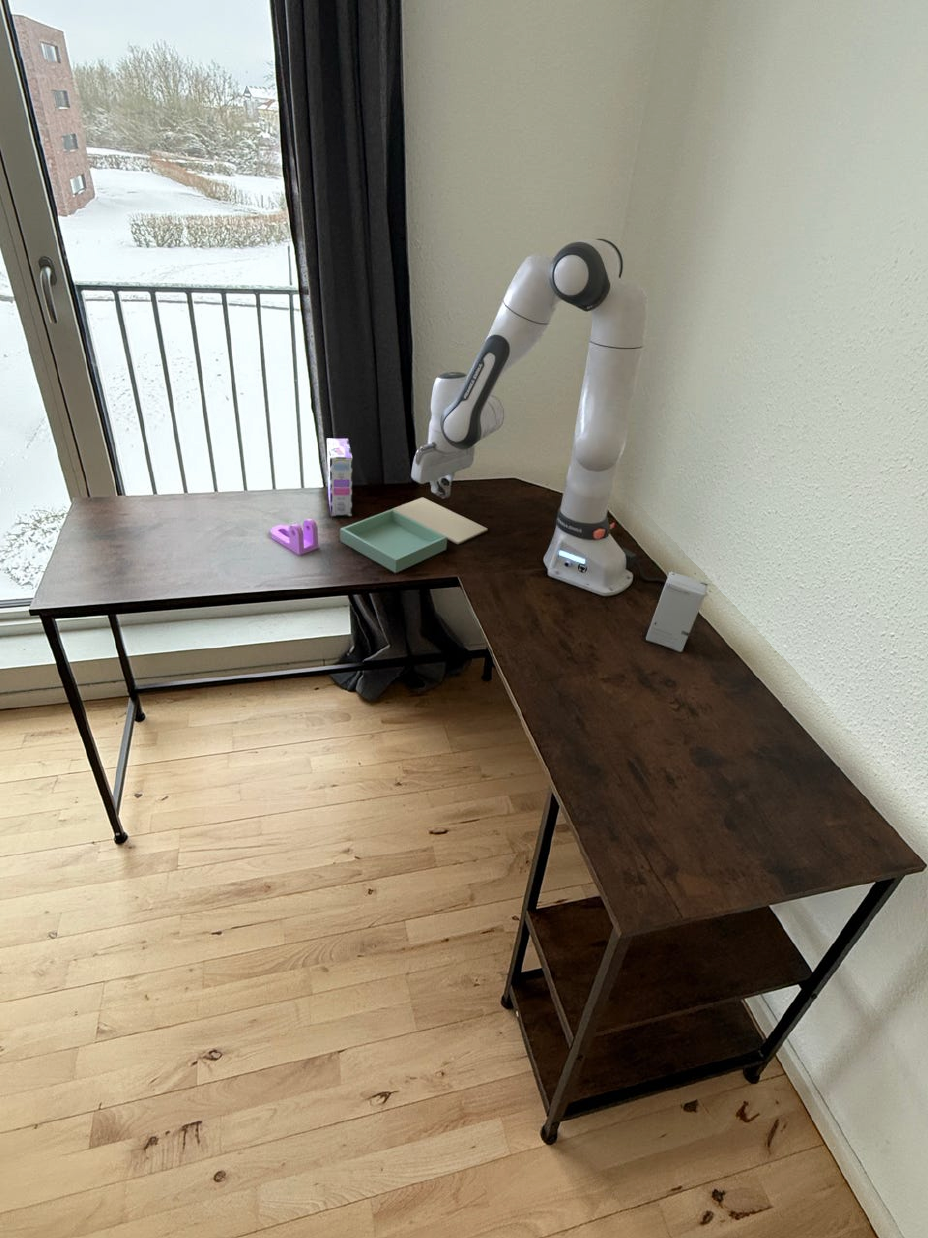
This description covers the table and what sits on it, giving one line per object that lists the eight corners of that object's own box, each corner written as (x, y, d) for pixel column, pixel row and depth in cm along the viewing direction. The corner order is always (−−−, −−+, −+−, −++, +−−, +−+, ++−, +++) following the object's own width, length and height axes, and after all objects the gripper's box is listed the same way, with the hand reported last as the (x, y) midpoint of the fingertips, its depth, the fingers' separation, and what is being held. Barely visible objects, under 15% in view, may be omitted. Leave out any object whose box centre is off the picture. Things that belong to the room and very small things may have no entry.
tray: (446, 549, 167) (447, 537, 165) (395, 573, 156) (396, 560, 154) (391, 520, 177) (392, 508, 175) (340, 541, 166) (340, 528, 164)
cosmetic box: (644, 640, 143) (663, 582, 135) (650, 626, 148) (668, 569, 140) (683, 653, 141) (705, 594, 133) (688, 638, 146) (709, 581, 137)
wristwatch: (443, 501, 173) (445, 483, 170) (427, 492, 177) (429, 474, 174) (453, 498, 175) (455, 480, 172) (437, 489, 179) (439, 471, 176)
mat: (487, 530, 178) (487, 528, 178) (457, 544, 170) (458, 542, 170) (422, 498, 190) (422, 497, 189) (391, 510, 182) (392, 508, 182)
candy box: (352, 516, 177) (353, 457, 167) (330, 517, 175) (329, 457, 166) (348, 494, 187) (348, 437, 178) (327, 494, 186) (326, 436, 177)
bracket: (318, 547, 162) (317, 522, 158) (299, 555, 158) (298, 529, 154) (285, 527, 168) (283, 502, 164) (266, 534, 165) (264, 508, 161)
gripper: (426, 451, 158) (422, 504, 166) (480, 434, 172) (474, 484, 180) (407, 443, 162) (404, 495, 170) (462, 427, 175) (457, 476, 183)
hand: (440, 489), depth 175 cm, fingers closed on wristwatch, 3 cm apart
